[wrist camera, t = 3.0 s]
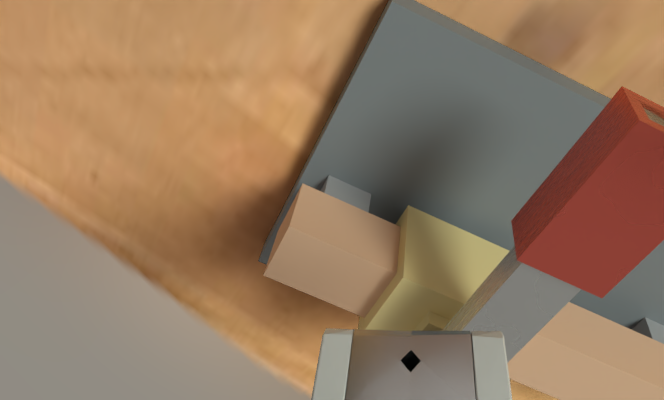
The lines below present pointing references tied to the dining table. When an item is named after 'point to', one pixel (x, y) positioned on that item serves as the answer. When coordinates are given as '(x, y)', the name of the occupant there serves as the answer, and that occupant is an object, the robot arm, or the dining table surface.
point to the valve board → (456, 203)
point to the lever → (579, 225)
